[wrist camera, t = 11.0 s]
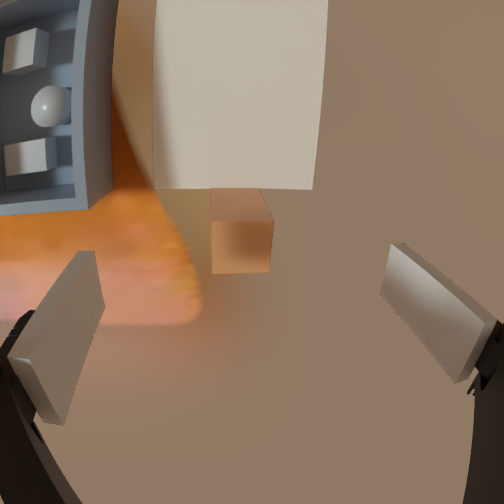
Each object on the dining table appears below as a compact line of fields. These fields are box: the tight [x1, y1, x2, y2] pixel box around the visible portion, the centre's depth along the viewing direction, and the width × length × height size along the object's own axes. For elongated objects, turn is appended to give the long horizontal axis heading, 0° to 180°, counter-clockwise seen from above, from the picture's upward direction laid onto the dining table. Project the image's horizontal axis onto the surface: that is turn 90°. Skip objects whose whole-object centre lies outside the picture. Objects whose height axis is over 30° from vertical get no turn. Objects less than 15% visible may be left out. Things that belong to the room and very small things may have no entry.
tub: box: [0, 0, 119, 216], centre depth 17 cm, size 16×11×6 cm
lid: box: [152, 0, 328, 274], centre depth 18 cm, size 22×12×8 cm, turn 178°
